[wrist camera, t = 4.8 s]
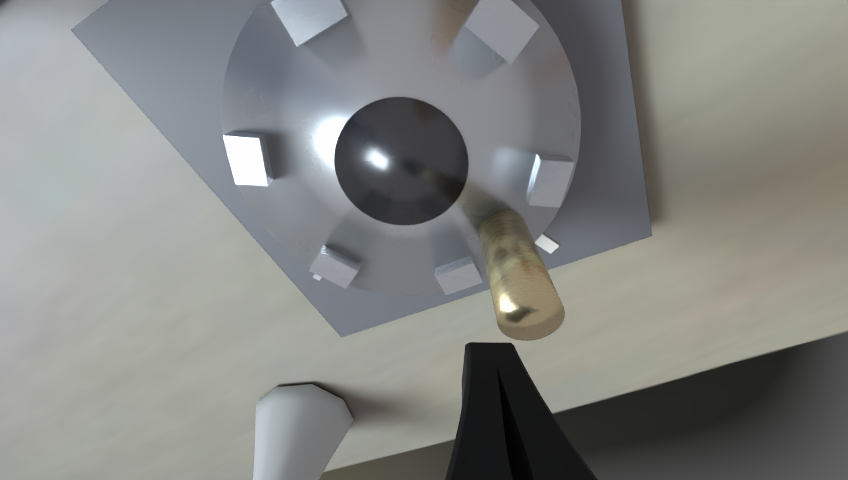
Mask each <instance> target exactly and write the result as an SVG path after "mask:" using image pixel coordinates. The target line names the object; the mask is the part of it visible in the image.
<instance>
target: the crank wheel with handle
mask: <svg viewBox="0 0 848 480" xmlns="http://www.w3.org/2000/svg"><path fill="white" fill-rule="evenodd" d="M221 116H222V133H223V138H224V144H225V149H226V154H227V157H228V161H229V164H230V167H231V170H232V173H233V176H234V180H235V184H237V185H238V187H239V189H240V191H241V194H242V196H243V197H244V199H245V201H246V202H247V204H248V206H249V207H250V209H251V211H252V212H253V214H254V215H255V216H256V218H257V219H258V220H259V222H260V223H261V224H262V225H263V227H264V228H265V229H266V230H267V232H268V233H269V234H270V235H271V236H272V237H273V238H274V239H275V240H276V241H277V242H278V243H279V244H280V245H281V246H282V247H283V248H285V249H286V250H287V251H288V252H289V253H291V254H292V255H293V256H294V257H295V258H297V259H298V260H300V261H301V262H303V263H304V264H306V265H307V266H309V267H310V269H309V271H310V272H312V273H314V274H316V275H318V276H321V277H323V278H325V279H327V280H329V281H331V282H333V283H335V284H337V285H339V286H341V287H343V288H345V289H346V288H347V286H351V287H355V288H358V289H361V290H365V291H370V292H375V293H380V294H388V295H401V296H417V295H430V294H436V293H442V292H444V293H445V294H446V295H448V294H451V293H454V292H457V291H460V290H463V289H466V288H469V287H471V286H474V285H477V284H480V283H483V279H485V278H487V277H488V281H489V286H490V290H491V295H492V300H493V305H494V309H495V314H496V319H497V324H498V327H499V329H500V330H501V331H502V333H504V334H505V335H506V336H508V337H510V338H513V339H516V340H523V341H528V340H536V339H540V338H543V337H546V336H548V335H550V334H551V333H553V332H554V331H556V330H557V329H558V328H559V327H560V325H561V324H562V322H563V320H564V317H565V311H564V307H563V305H562V303H561V301H560V298H559V296H558V294H557V292H556V289H555V287H554V285H553V282H552V280H551V278H550V276H549V273H548V271H547V269H546V267H545V264H544V262H543V260H542V258H541V255H540V253H539V251H538V249H537V246H536V244H535V241H536V240H537V239H538V238H539V237H540V236H541V235H542V234H543V232H544V231H545V230H546V228H547V227H548V226H549V224H550V223H551V222H552V220H553V219H554V217H555V216H556V214H557V212H558V210H559V208H560V207H561V205H562V203H563V201H564V199H565V197H566V194H567V192H568V190H569V187H570V185H571V182H572V179H573V176H574V172H575V168H576V164H577V160H578V155H579V147H580V139H581V111H580V104H579V98H578V91H577V86H576V82H575V79H574V76H573V72H572V69H571V66H570V63H569V60H568V58H567V56H566V54H565V51H564V49H563V47H562V45H561V43H560V41H559V39H558V37H557V35H556V34H555V32H554V31H553V29H552V28H551V26H550V25H549V23H548V22H547V20H546V19H545V17H544V16H543V14H542V13H541V12H540V11H539V10H538V8H537V7H536V6H535V5H534V4H533V3H532V2H531V1H530V0H262V1H261V2H260V3H259V5H258V6H257V7H256V8H255V9H254V10H253V12H252V14H251V15H250V17H249V19H248V20H247V22H246V23H245V25H244V27H243V28H242V30H241V32H240V33H239V36H238V38H237V40H236V43H235V45H234V48H233V50H232V53H231V55H230V57H229V61H228V65H227V69H226V74H225V78H224V82H223V92H222V102H221Z"/></svg>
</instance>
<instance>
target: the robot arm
mask: <svg viewBox="0 0 848 480" xmlns="http://www.w3.org/2000/svg"><path fill="white" fill-rule="evenodd" d="M445 480H598V479H597V478H596V477H595V475H594V474H593V472H592V471H591V470H590V468H589V467H588V466H587V464H586V463H585V462H584V460H583V459H582V458H581V456H580V455H579V453H578V452H577V450H576V449H575V448H574V446H573V445H572V443H571V442H570V440H569V439H568V437H567V436H566V434H565V433H564V432H563V430H562V428H561V427H560V425H559V424H558V422H557V421H556V419H555V418H554V416H553V414H552V413H551V411H550V410H549V408H548V406H547V405H546V403H545V402H544V400H543V398H542V397H541V395H540V393H539V392H538V390H537V388H536V386H535V385H534V383H533V381H532V379H531V378H530V376H529V374H528V372H527V370H526V369H525V367H524V365H523V363H522V361H521V359H520V357H519V355H518V353H517V351H516V349H515V347H514V345H513V344H512V343H476V342H469V343H468V344H466V345H465V355H464V365H463V375H462V410H461V416H460V421H459V425H458V430H457V434H456V439H455V444H454V448H453V452H452V456H451V460H450V464H449V468H448V471H447V475H446V479H445Z"/></svg>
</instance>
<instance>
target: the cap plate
mask: <svg viewBox="0 0 848 480" xmlns="http://www.w3.org/2000/svg"><path fill="white" fill-rule="evenodd" d="M261 1H262V0H109V1H108V2H107V3H106V4H104V5H103V6H102V7H100V8H99V9H98V10H96V11H95V12H94V13H92V14H91V15H90V16H88V17H87V18H86V19H85V20H83V21H82V22H81V23H79V24H78V25H77V26H75V27H74V28H73V29H71V31H72V32H73V33H74V34H75V35H76V37H77V38H78V39H79V40H80V41H81V42H82V43H83V45H84V46H85V47H86V48H87V49H88V50H89V51H90V52H91V54H92V55H93V56H94V57H95V58H96V59H97V60H98V62H99V63H100V64H101V65H102V66H103V67H104V68H105V70H106V71H107V72H108V73H109V74H110V75H111V76H112V77H113V79H114V80H115V81H116V82H117V83H118V84H119V85H120V87H121V88H122V89H123V90H124V91H125V92H126V93H127V95H128V96H129V97H130V98H131V99H132V100H133V101H134V102H135V104H136V105H137V106H138V107H139V108H140V109H141V110H142V112H143V113H144V114H145V115H146V116H147V117H148V118H149V119H150V121H151V122H152V123H153V124H154V125H155V126H156V127H157V129H158V130H159V131H160V132H161V133H162V134H163V135H164V137H165V138H166V139H167V140H168V141H169V142H170V143H171V144H172V146H173V147H174V148H175V149H176V150H177V151H178V152H179V154H180V155H181V156H182V157H183V158H184V159H185V160H186V162H187V163H188V164H189V165H190V166H191V167H192V168H193V169H194V171H195V172H196V173H197V174H198V175H199V176H200V177H201V179H202V180H203V181H204V182H205V183H206V184H207V185H208V187H209V188H210V189H211V190H212V191H213V192H214V193H215V194H216V196H217V197H218V198H219V199H220V200H221V201H222V202H223V204H224V205H225V206H226V207H227V208H228V209H229V210H230V212H231V213H232V214H233V215H234V216H235V217H236V218H237V219H238V221H239V222H240V223H241V224H242V225H243V226H244V227H245V229H246V230H247V231H248V232H249V233H250V234H251V235H252V236H253V238H254V239H255V240H256V241H257V242H258V243H259V244H260V246H261V247H262V248H263V249H264V250H265V251H266V252H267V254H268V255H269V256H270V257H271V258H272V259H273V260H274V261H275V263H276V264H277V265H278V266H279V267H280V268H281V269H282V271H283V272H284V273H285V274H286V275H287V276H288V277H289V279H290V280H291V281H292V282H293V283H294V284H295V285H296V286H297V288H298V289H299V290H300V291H301V292H302V293H303V294H304V296H305V297H306V298H307V299H308V300H309V301H310V302H311V304H312V305H313V306H314V307H315V308H316V309H317V310H318V311H319V313H320V314H321V315H322V316H323V317H324V318H325V319H326V321H327V322H328V323H329V324H330V325H331V326H332V327H333V329H334V330H335V331H336V332H337V333H338V334H339V335H340V336H341V337H344V336H347V335H350V334H353V333H356V332H359V331H362V330H365V329H368V328H372V327H375V326H378V325H381V324H384V323H387V322H390V321H393V320H396V319H399V318H402V317H405V316H408V315H411V314H414V313H418V312H421V311H424V310H427V309H430V308H433V307H436V306H439V305H442V304H445V303H448V302H451V301H454V300H457V299H460V298H463V297H467V296H470V295H473V294H476V293H479V292H482V291H485V290H488V289H490V286H489V281H488V277H487V278H485V279H483V283H480V284H477V285H474V286H471V287H469V288H466V289H463V290H460V291H457V292H454V293H451V294H448V295H446V294H445V293H444V292H442V293H436V294H430V295H417V296H401V295H388V294H380V293H375V292H370V291H365V290H361V289H358V288H355V287H351V286H347V288H346V289H345V288H343V287H341V286H339V285H337V284H335V283H333V282H331V281H329V280H327V279H325V278H323V277H321V276H318V275H316V274H314V273H312V272H310V271H309V269H310V267H309V266H307V265H306V264H304V263H303V262H301V261H300V260H298V259H297V258H295V257H294V256H293V255H292V254H291V253H289V252H288V251H287V250H286V249H285V248H283V247H282V246H281V245H280V244H279V243H278V242H277V241H276V240H275V239H274V238H273V237H272V236H271V235H270V234H269V233H268V232H267V230H266V229H265V228H264V227H263V225H262V224H261V223H260V222H259V220H258V219H257V218H256V216H255V215H254V214H253V212H252V211H251V209H250V207H249V206H248V204H247V202H246V201H245V199H244V197H243V196H242V194H241V191H240V189H239V187H238V185H237V184H235V180H234V176H233V173H232V170H231V167H230V164H229V161H228V157H227V154H226V149H225V144H224V138H223V133H222V116H221V102H222V92H223V82H224V78H225V74H226V69H227V65H228V61H229V57H230V55H231V53H232V50H233V48H234V45H235V43H236V40H237V38H238V36H239V33H240V32H241V30H242V28H243V27H244V25H245V23H246V22H247V20H248V19H249V17H250V15H251V14H252V12H253V10H254V9H255V8H256V7H257V6H258V5H259V3H260V2H261ZM530 1H531V2H532V3H533V4H534V5H535V6H536V7H537V8H538V10H539V11H540V12H541V13H542V14H543V16H544V17H545V19H546V20H547V22H548V23H549V25H550V26H551V28H552V29H553V31H554V32H555V34H556V35H557V37H558V39H559V41H560V43H561V45H562V47H563V49H564V51H565V54H566V56H567V58H568V60H569V63H570V66H571V69H572V72H573V76H574V79H575V82H576V86H577V91H578V98H579V104H580V111H581V139H580V147H579V155H578V160H577V164H576V168H575V172H574V176H573V179H572V182H571V185H570V187H569V190H568V192H567V194H566V197H565V199H564V201H563V203H562V205H561V207H560V208H559V210H558V212H557V214H556V216H555V217H554V219H553V220H552V222H551V223H550V224H549V226H548V227H547V228H546V230H545V231H544V232H543V234H542V235H541V236H540V237H539V238H538V239H537V240H536V241H535V244H536V246H537V249H538V251H539V253H540V255H541V258H542V260H543V262H544V264H545V267H546V269H547V270H549V269H552V268H555V267H558V266H562V265H565V264H568V263H571V262H574V261H577V260H580V259H583V258H586V257H589V256H592V255H595V254H598V253H601V252H604V251H607V250H611V249H614V248H617V247H620V246H623V245H626V244H629V243H632V242H635V241H638V240H641V239H644V238H647V237H650V236H652V231H651V223H650V216H649V208H648V201H647V193H646V185H645V178H644V170H643V163H642V155H641V147H640V140H639V132H638V125H637V117H636V109H635V102H634V94H633V87H632V79H631V71H630V64H629V56H628V49H627V41H626V33H625V26H624V18H623V11H622V3H621V0H530Z"/></svg>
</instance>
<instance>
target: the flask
mask: <svg viewBox="0 0 848 480" xmlns="http://www.w3.org/2000/svg"><path fill="white" fill-rule="evenodd" d="M353 421H354V419H353V417H352V416H351V414H350V412H349V410H348V408H347V406H346V404H345V402H344V400H343V399H341V398H339V397H337V396H335V395H333V394H331V393H329V392H327V391H325V390H323V389H321V388H319V387H317V386H315V385H313V384H308V385H296V386H285V387H275V388H274V389H273V390H272V391H270V392H269V393H268V394H267V395H266V396H264V397H263V398H262V399H261V400H259V401H258V402H257V404H256V430H255V458H254V475H253V480H319V478H320V477H321V475H322V473H323V471H324V469H325V468H326V466H327V464H328V462H329V461H330V459H331V457H332V456H333V454H334V453H335V451H336V449H337V448H338V446H339V444H340V443H341V441H342V439H343V438H344V436H345V435H346V433H347V431H348V430H349V428H350V426H351V424H352V423H353Z"/></svg>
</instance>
